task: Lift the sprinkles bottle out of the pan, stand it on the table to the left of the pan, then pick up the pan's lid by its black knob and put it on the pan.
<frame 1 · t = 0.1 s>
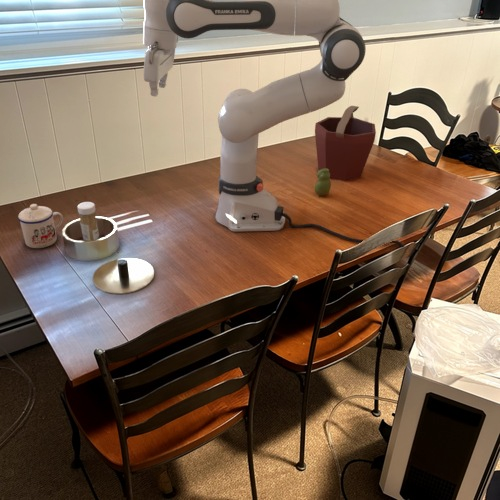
hand: (158, 91, 138), 39 cm above the table, tool pointing down, fingers open, 8 cm apart
pan lid: (124, 276, 127), point 1 cm above the table
pan: (93, 248, 139), on the table
green figurine: (321, 195, 174), on the table
teacup with lid: (46, 239, 142), on the table
sprinkles bottle: (92, 247, 139), resting on pan
bucket: (341, 172, 192), on the table
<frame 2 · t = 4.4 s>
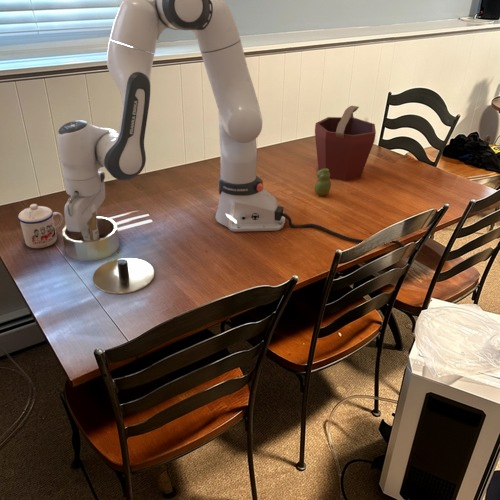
hand: (90, 229, 136), 6 cm above the table, tool pointing down, fingers closed on sprinkles bottle, 4 cm apart
sprinkles bottle: (92, 247, 139), resting on pan, touching gripper
everything else where it was.
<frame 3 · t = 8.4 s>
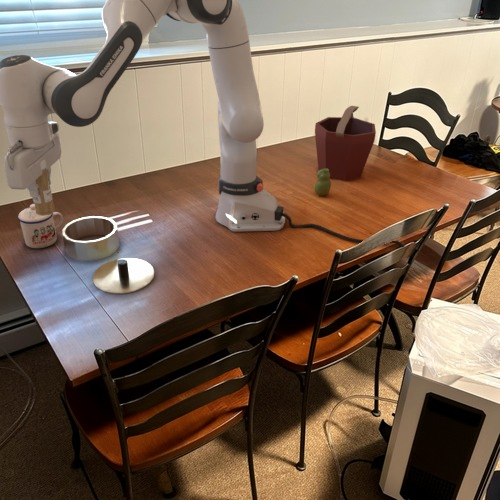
hand: (41, 190, 116), 24 cm above the table, tool pointing down, fingers closed on sprinkles bottle, 4 cm apart
sprinkles bottle: (45, 212, 119), point 18 cm above the table, touching gripper
everything else where it was.
when the fingers open (6 cm above the table, at t = 12.7 s): sprinkles bottle stays where it is, on the table.
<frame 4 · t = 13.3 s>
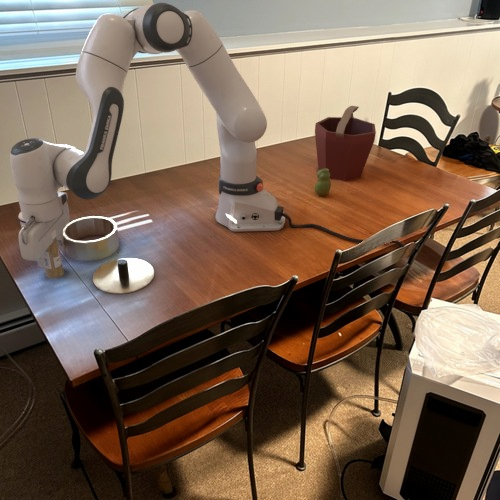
hand: (51, 255, 124), 6 cm above the table, tool pointing down, fingers open, 8 cm apart
sprinkles bottle: (55, 275, 128), on the table
everything else where it was.
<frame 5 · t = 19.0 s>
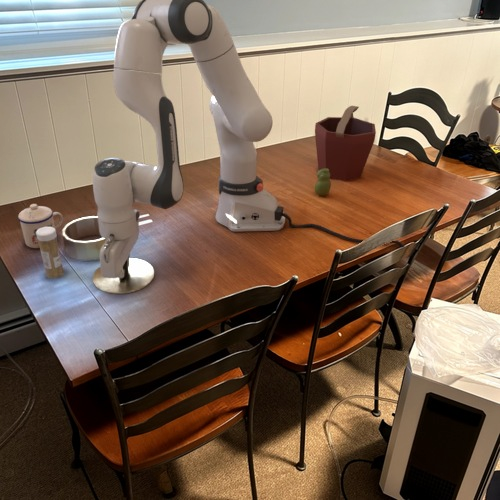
hand: (123, 271, 126), 2 cm above the table, tool pointing down, fingers closed on pan lid, 2 cm apart
pan lid: (124, 276, 127), point 1 cm above the table, touching gripper
everything else where it was.
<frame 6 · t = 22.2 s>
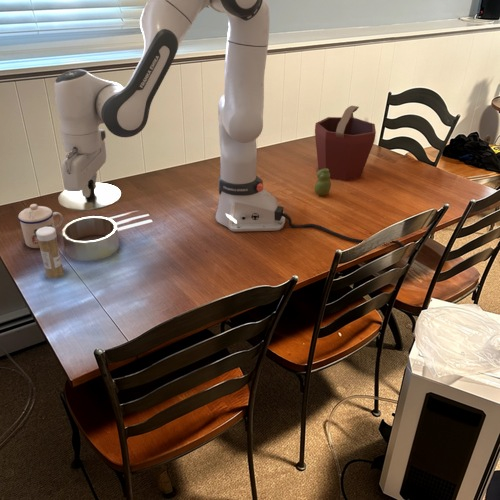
hand: (89, 192, 126), 19 cm above the table, tool pointing down, fingers closed on pan lid, 2 cm apart
pan lid: (90, 197, 127), point 18 cm above the table, touching gripper
everything else where it was.
when the fingers open (8 cm above the table, at t = 25.4 s): pan lid stays where it is, resting on pan.
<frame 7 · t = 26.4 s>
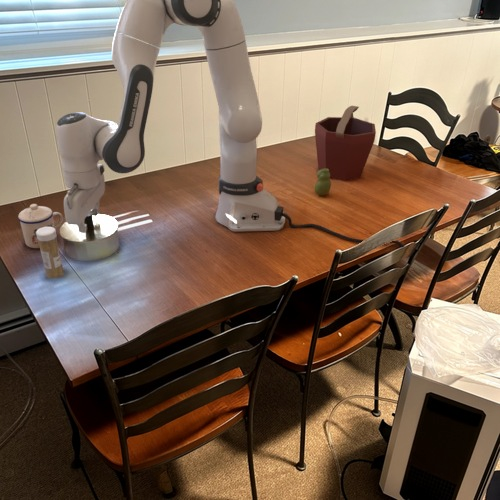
hand: (89, 223, 135), 8 cm above the table, tool pointing down, fingers open, 8 cm apart
pan lid: (89, 228, 136), point 6 cm above the table, touching pan
everything else where it was.
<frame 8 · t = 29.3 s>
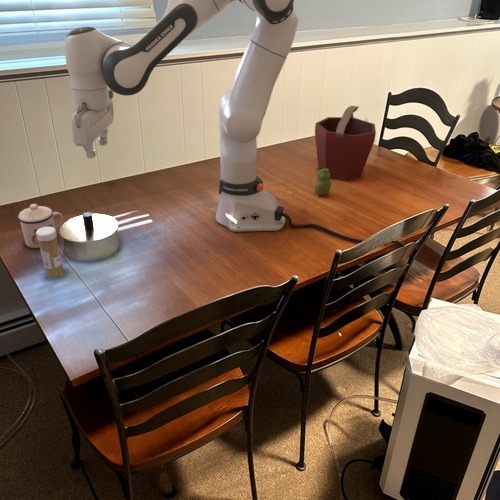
hand: (97, 150, 129), 27 cm above the table, tool pointing down, fingers open, 8 cm apart
nothing on the table moved.
at the end: sprinkles bottle inside the target area (0.1 cm from its centre), on the table; sprinkles bottle tilted 0°; pan lid 0.1 cm off-centre on the pan, point 6.4 cm above the pan's base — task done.
